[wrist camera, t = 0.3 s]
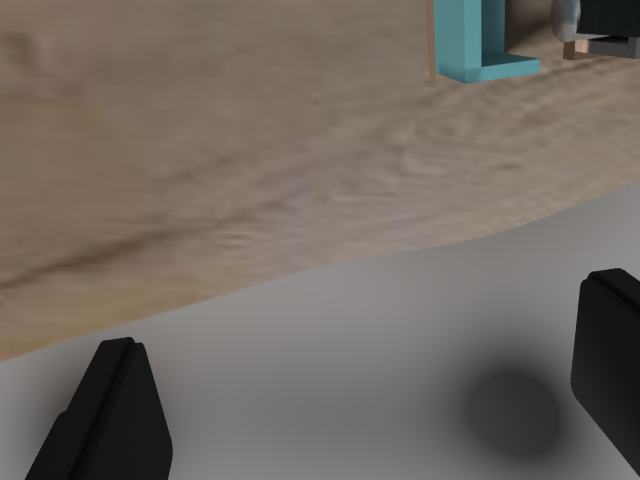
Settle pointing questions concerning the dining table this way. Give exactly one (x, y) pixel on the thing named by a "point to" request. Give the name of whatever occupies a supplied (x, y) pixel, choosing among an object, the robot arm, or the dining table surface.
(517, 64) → the far socket
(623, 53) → the tube sleeve
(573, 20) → the tube
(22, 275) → the dining table surface
